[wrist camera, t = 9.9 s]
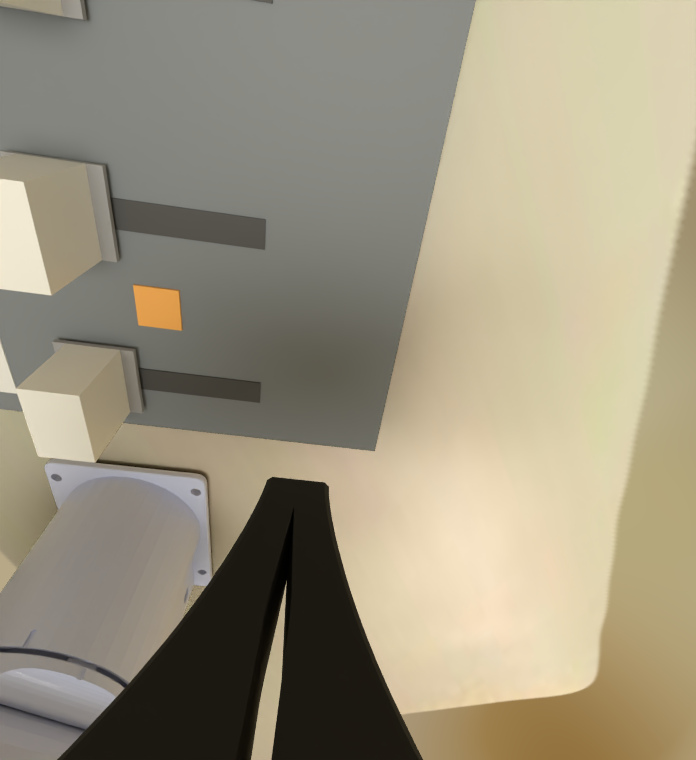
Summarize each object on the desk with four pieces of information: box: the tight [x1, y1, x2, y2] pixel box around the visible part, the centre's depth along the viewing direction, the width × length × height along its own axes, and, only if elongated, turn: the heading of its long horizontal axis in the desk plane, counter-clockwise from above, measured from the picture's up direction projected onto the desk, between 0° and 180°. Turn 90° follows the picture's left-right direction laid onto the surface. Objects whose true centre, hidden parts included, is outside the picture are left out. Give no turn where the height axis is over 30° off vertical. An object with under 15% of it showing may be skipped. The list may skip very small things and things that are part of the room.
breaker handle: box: [15, 339, 144, 463], centre depth 17 cm, size 3×3×3 cm
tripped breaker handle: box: [0, 150, 119, 295], centre depth 13 cm, size 3×3×3 cm
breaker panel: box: [0, 0, 476, 451], centre depth 15 cm, size 18×18×2 cm
